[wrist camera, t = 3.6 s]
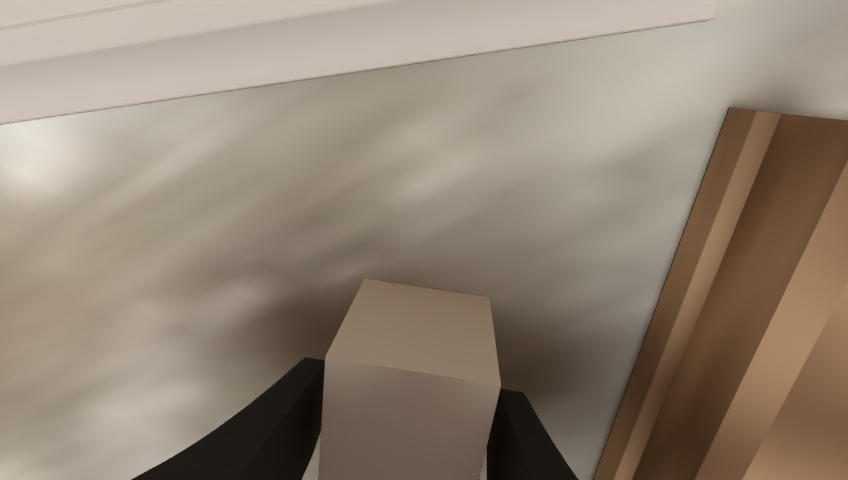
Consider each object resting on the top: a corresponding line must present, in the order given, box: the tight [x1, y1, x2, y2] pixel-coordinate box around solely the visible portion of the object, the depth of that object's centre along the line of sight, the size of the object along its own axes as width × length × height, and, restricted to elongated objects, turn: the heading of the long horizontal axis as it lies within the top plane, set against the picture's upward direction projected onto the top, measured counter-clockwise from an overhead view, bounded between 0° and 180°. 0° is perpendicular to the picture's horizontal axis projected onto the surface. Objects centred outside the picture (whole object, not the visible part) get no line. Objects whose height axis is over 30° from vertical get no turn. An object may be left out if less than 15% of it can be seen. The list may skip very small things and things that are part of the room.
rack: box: [593, 108, 848, 480], centre depth 11 cm, size 16×9×3 cm, turn 173°
